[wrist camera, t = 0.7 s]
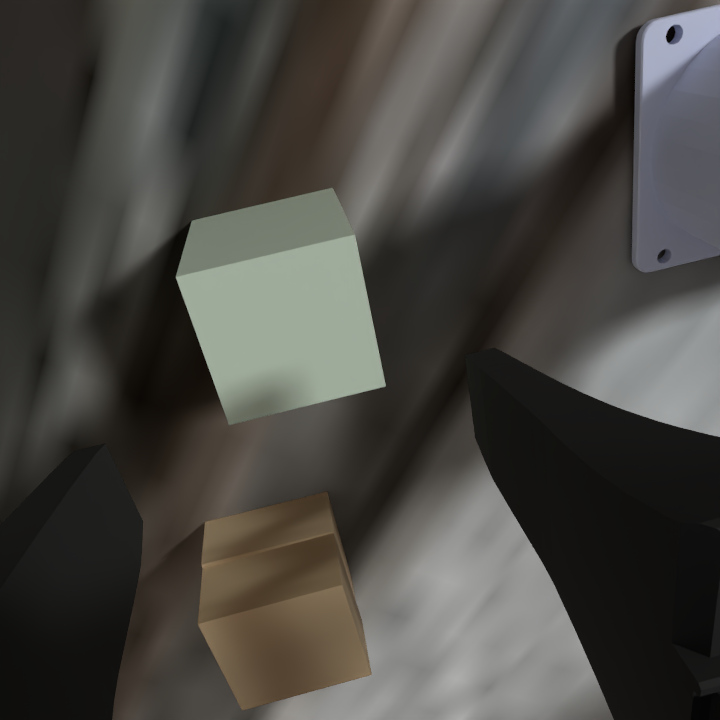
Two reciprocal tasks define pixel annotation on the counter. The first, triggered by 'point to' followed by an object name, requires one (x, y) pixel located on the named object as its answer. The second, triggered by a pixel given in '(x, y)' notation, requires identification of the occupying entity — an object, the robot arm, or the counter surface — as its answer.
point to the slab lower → (270, 530)
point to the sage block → (280, 305)
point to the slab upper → (283, 622)
